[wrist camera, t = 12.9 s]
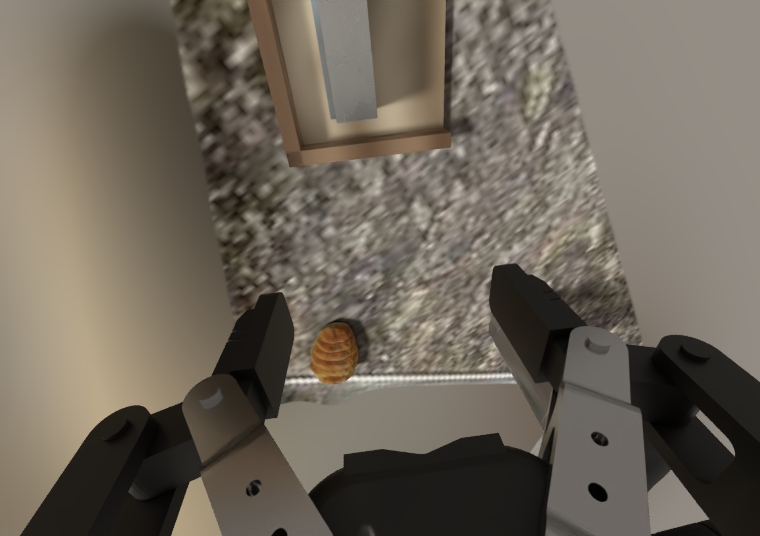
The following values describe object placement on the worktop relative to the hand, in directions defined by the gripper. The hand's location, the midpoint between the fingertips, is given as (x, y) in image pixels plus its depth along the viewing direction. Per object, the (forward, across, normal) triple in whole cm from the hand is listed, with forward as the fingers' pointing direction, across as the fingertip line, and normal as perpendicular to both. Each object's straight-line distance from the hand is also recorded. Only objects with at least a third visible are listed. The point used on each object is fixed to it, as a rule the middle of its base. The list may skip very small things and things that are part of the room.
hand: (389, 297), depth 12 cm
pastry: (+22, +7, +25) cm, 34 cm away
